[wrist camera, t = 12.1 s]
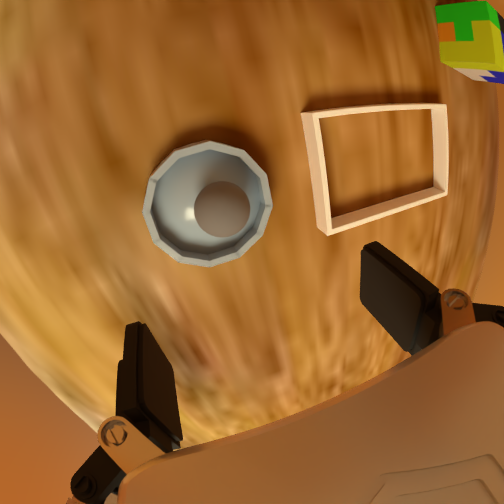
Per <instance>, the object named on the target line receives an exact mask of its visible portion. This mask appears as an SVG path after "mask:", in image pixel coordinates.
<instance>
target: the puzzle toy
mask: <svg viewBox="0 0 504 504" xmlns="http://www.w3.org/2000/svg"><path fill="white" fill-rule="evenodd" d="M435 10H436V17H437V25H438V34H439V45H440V61H441V62H442V63H444V64H446V65H448V66H450V67H452V68H454V69H456V70H457V71H459V72H461V73H463V74H464V75H466V76H468V77H469V78H471V79H473V80H479V81H487V82H495V83H502V84H504V19H503V17H502V16H500V15H499V13H498V12H497V11H496V10H494V8H493V7H492V6H491V5H490V4H489V3H488V2H487V1H474V2H463V3H454V4H446V5H440V6H435Z"/></svg>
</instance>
